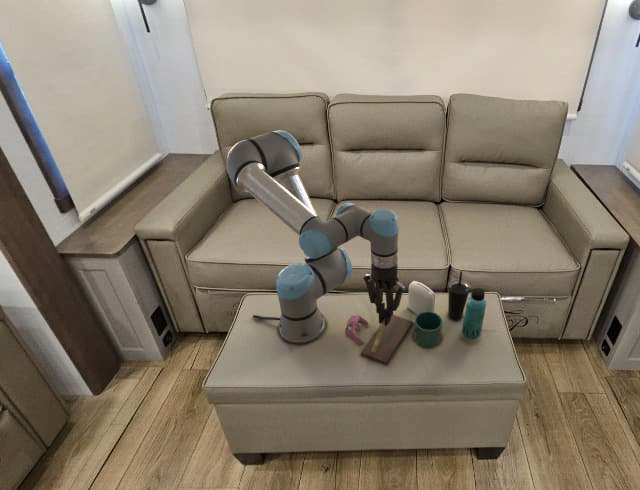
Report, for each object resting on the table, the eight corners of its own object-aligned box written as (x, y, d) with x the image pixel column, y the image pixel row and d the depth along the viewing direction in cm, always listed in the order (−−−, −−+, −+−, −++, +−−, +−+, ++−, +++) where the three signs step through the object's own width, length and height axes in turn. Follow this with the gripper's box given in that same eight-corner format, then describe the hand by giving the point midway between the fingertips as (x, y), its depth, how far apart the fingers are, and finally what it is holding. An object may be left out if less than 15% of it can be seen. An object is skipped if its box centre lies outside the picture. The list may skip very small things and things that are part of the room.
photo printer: (406, 308, 154) (407, 281, 147) (414, 302, 156) (415, 276, 149) (427, 322, 148) (429, 296, 141) (435, 316, 151) (437, 290, 143)
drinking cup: (465, 324, 148) (472, 280, 136) (443, 321, 149) (448, 277, 137) (466, 310, 154) (473, 266, 142) (445, 306, 155) (450, 263, 143)
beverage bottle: (458, 339, 142) (464, 294, 130) (464, 326, 147) (471, 282, 135) (477, 346, 140) (485, 301, 128) (482, 332, 145) (491, 288, 133)
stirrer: (380, 326, 143) (370, 352, 132) (392, 296, 136) (383, 322, 125) (384, 327, 143) (374, 354, 132) (396, 298, 136) (387, 324, 125)
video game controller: (359, 325, 148) (349, 311, 145) (370, 323, 147) (360, 308, 143) (350, 346, 141) (340, 331, 137) (362, 344, 139) (352, 329, 136)
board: (361, 354, 136) (361, 352, 135) (389, 315, 151) (389, 313, 150) (386, 364, 133) (386, 362, 132) (412, 323, 148) (412, 321, 147)
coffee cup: (409, 341, 141) (410, 325, 136) (420, 324, 148) (421, 308, 143) (434, 351, 138) (436, 334, 133) (444, 332, 144) (446, 316, 140)
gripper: (355, 262, 120) (358, 322, 134) (401, 276, 115) (400, 337, 129) (368, 248, 125) (370, 307, 139) (413, 261, 120) (410, 321, 134)
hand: (384, 321), depth 134 cm, fingers closed on stirrer
